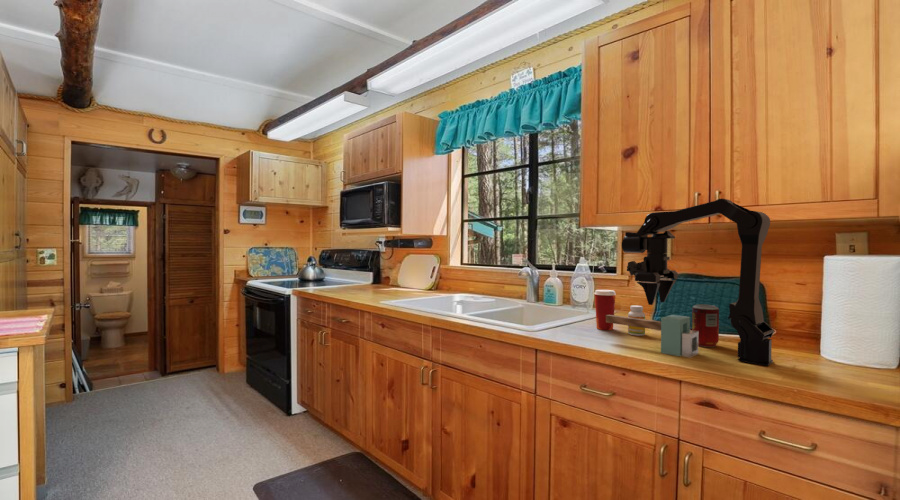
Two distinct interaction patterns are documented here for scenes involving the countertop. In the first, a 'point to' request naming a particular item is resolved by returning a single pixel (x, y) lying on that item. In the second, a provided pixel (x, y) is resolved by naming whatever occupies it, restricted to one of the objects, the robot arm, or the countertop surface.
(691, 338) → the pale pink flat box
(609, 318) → the shaft
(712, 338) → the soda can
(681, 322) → the block
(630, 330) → the supplement bottle
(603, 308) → the paper cup
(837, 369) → the countertop surface
